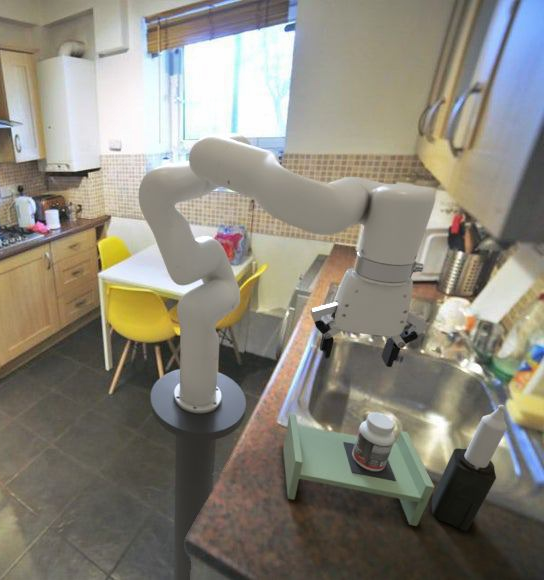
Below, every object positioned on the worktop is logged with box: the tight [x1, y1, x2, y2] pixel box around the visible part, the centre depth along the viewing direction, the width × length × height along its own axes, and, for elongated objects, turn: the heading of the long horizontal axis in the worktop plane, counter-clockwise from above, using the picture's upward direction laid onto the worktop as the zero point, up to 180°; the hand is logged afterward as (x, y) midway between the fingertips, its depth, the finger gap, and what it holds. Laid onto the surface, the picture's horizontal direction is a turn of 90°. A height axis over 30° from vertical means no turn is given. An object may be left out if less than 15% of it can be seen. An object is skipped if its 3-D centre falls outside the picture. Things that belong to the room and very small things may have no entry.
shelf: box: [282, 413, 436, 527], centre depth 69 cm, size 12×21×10 cm, turn 75°
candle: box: [431, 404, 508, 531], centre depth 60 cm, size 5×5×25 cm
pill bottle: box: [352, 411, 396, 471], centre depth 65 cm, size 5×5×10 cm
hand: (355, 357), depth 64 cm, fingers open, 9 cm apart
